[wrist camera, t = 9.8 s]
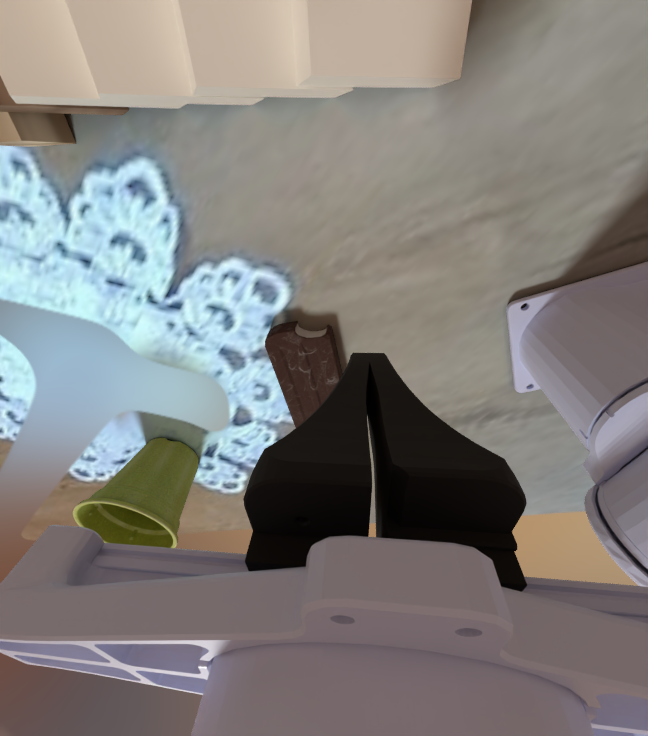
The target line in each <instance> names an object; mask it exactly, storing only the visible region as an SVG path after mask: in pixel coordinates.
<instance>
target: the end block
mask: <svg viewBox="0 0 648 736" xmlns="http://www.w3.org/2000/svg"><path fill="white" fill-rule="evenodd" d="M75 143H76V142H75V140H74V137H73V135H72V132H71V130H70V128H69V125H68V123H67V120H66V118H65V115H64V114H63V113H26V112H0V145H3V146H31V147H32V146H47V145H61V144H75Z"/></svg>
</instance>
